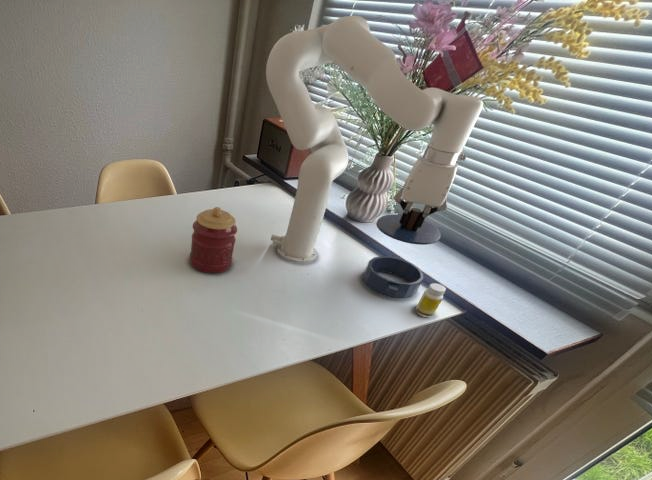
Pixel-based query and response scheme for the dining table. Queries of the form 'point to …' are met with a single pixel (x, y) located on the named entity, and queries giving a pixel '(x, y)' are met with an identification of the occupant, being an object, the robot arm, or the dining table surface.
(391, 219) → the pot lid
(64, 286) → the dining table surface
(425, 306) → the supplement bottle
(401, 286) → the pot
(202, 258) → the kitchen canister
